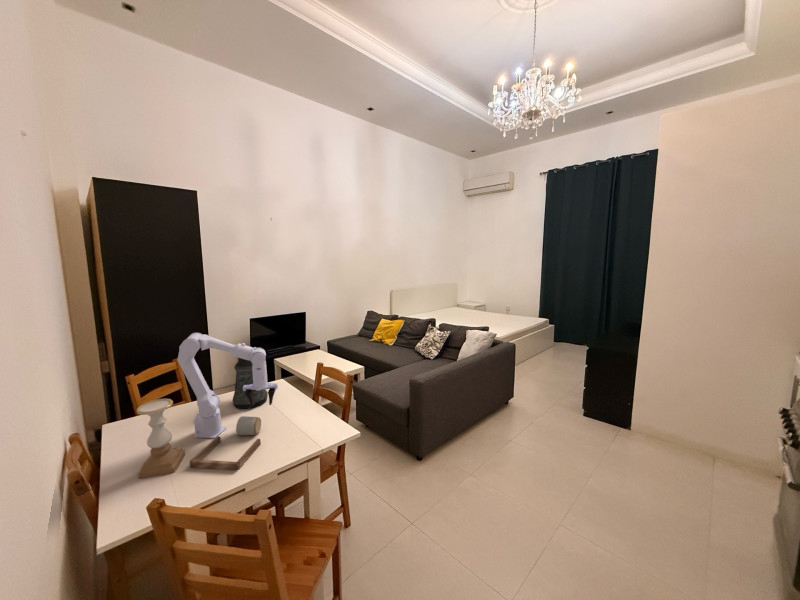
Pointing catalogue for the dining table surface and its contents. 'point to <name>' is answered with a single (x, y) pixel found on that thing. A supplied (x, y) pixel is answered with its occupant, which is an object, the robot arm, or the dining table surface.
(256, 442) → the walnut dock
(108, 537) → the dining table surface
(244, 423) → the ceramic mug
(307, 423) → the dining table surface
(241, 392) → the beer stein
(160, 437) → the candle holder
